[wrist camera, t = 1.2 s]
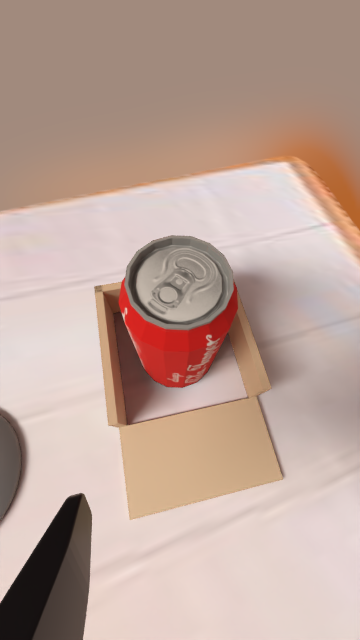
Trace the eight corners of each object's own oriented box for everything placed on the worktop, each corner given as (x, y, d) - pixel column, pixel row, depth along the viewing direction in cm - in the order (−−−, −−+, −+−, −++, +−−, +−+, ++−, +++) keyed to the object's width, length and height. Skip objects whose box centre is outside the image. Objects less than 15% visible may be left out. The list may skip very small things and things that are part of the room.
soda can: (169, 308, 25) (166, 208, 14) (225, 346, 24) (270, 267, 13) (126, 360, 23) (82, 289, 12) (184, 405, 22) (196, 371, 11)
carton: (281, 478, 20) (306, 488, 16) (130, 518, 18) (119, 538, 15) (220, 288, 26) (228, 263, 22) (105, 308, 25) (94, 286, 21)
